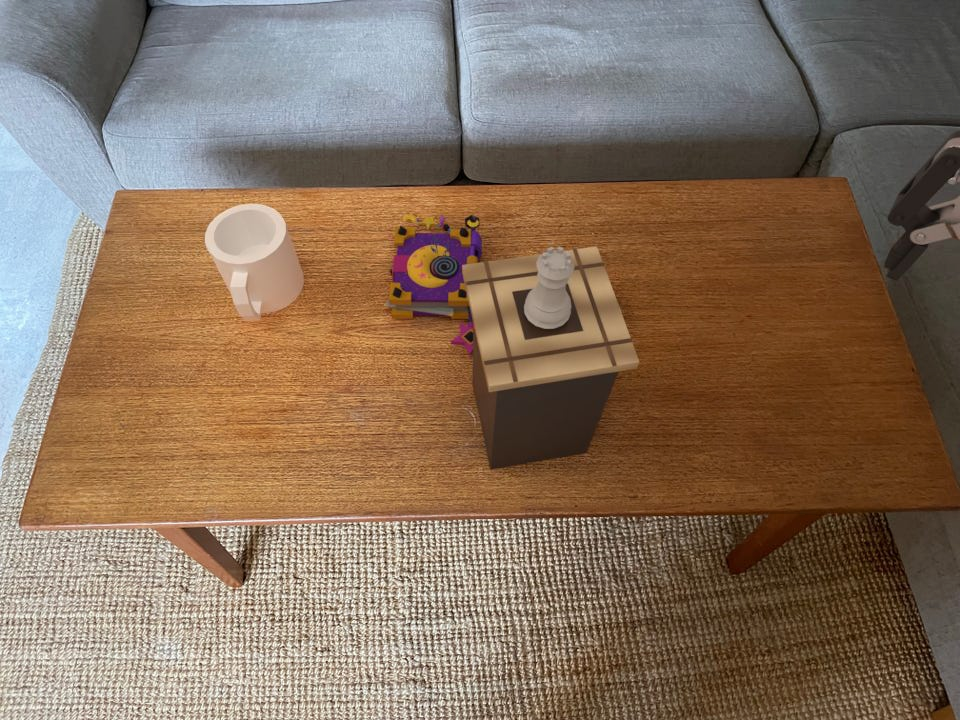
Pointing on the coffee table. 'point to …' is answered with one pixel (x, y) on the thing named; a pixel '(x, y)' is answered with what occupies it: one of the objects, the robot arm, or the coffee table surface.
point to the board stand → (538, 416)
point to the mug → (255, 259)
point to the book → (434, 273)
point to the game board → (534, 350)
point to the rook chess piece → (550, 290)
